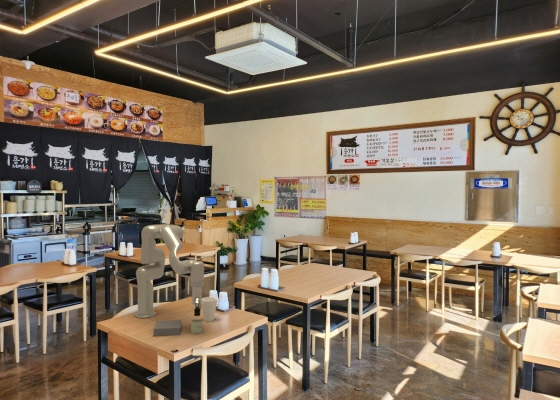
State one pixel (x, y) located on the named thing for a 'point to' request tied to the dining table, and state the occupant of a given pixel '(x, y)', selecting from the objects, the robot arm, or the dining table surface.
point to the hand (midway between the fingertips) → (197, 313)
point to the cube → (196, 326)
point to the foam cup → (209, 308)
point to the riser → (167, 327)
